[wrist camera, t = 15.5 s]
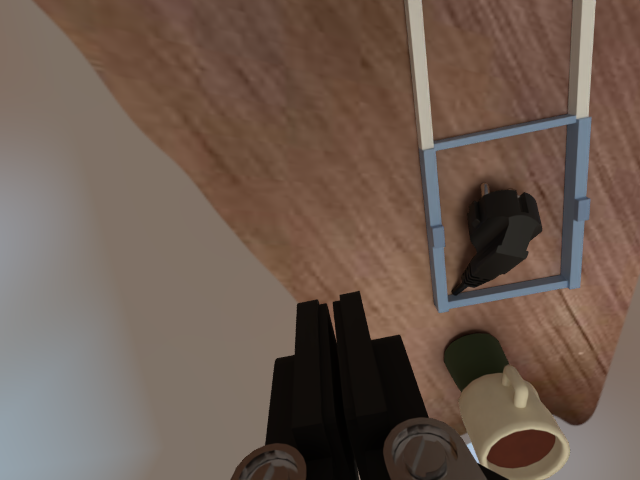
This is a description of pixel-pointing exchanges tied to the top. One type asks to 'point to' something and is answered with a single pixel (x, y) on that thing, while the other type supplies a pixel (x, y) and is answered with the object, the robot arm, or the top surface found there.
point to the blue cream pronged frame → (575, 146)
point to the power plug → (499, 234)
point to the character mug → (504, 412)
